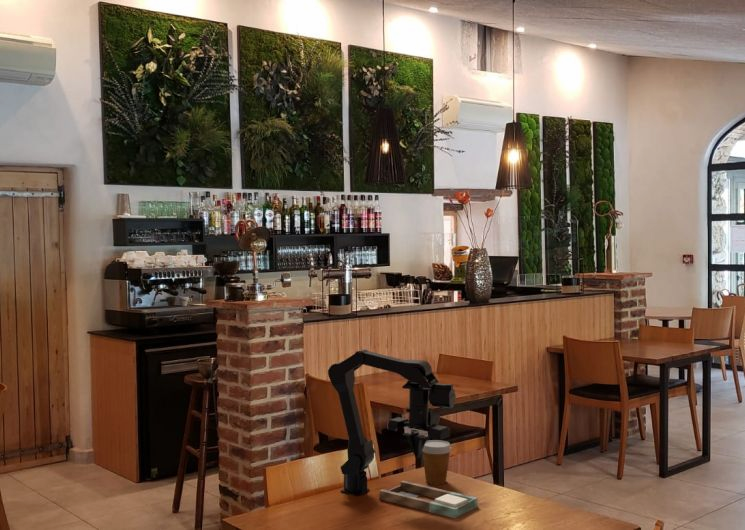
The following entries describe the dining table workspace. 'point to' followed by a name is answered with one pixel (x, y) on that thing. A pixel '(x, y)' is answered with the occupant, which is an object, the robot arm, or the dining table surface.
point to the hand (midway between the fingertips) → (417, 457)
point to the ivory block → (451, 500)
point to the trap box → (410, 492)
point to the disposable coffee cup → (436, 461)
